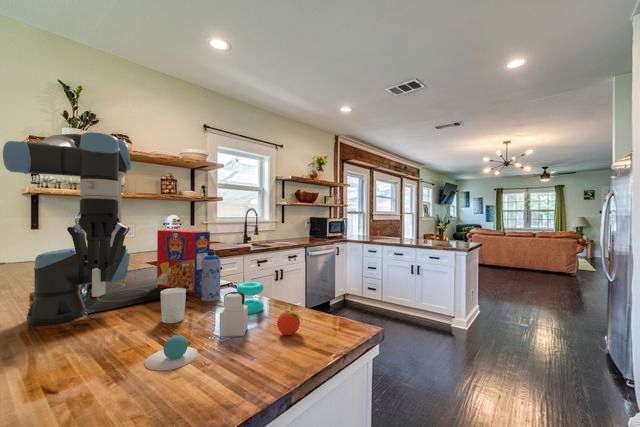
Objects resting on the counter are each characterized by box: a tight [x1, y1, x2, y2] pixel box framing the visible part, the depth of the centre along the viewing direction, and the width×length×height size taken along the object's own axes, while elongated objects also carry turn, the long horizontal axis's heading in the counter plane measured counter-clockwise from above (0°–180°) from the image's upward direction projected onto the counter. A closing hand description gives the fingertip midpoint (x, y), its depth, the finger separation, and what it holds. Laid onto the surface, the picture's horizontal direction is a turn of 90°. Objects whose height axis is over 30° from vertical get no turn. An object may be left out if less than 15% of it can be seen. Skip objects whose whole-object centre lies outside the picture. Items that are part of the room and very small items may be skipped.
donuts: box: [236, 281, 265, 315], centre depth 111 cm, size 10×10×10 cm
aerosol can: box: [200, 250, 222, 302], centre depth 126 cm, size 8×8×20 cm
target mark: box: [144, 346, 199, 372], centre depth 74 cm, size 12×12×1 cm
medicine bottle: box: [219, 291, 249, 338], centre depth 91 cm, size 7×7×12 cm
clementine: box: [276, 310, 303, 336], centre depth 89 cm, size 8×7×7 cm
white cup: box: [160, 288, 187, 324], centre depth 101 cm, size 8×8×10 cm
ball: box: [162, 334, 189, 359], centre depth 74 cm, size 6×6×6 cm
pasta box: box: [156, 229, 211, 297], centre depth 141 cm, size 28×8×28 cm, turn 60°
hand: (98, 294), depth 72 cm, fingers closed
